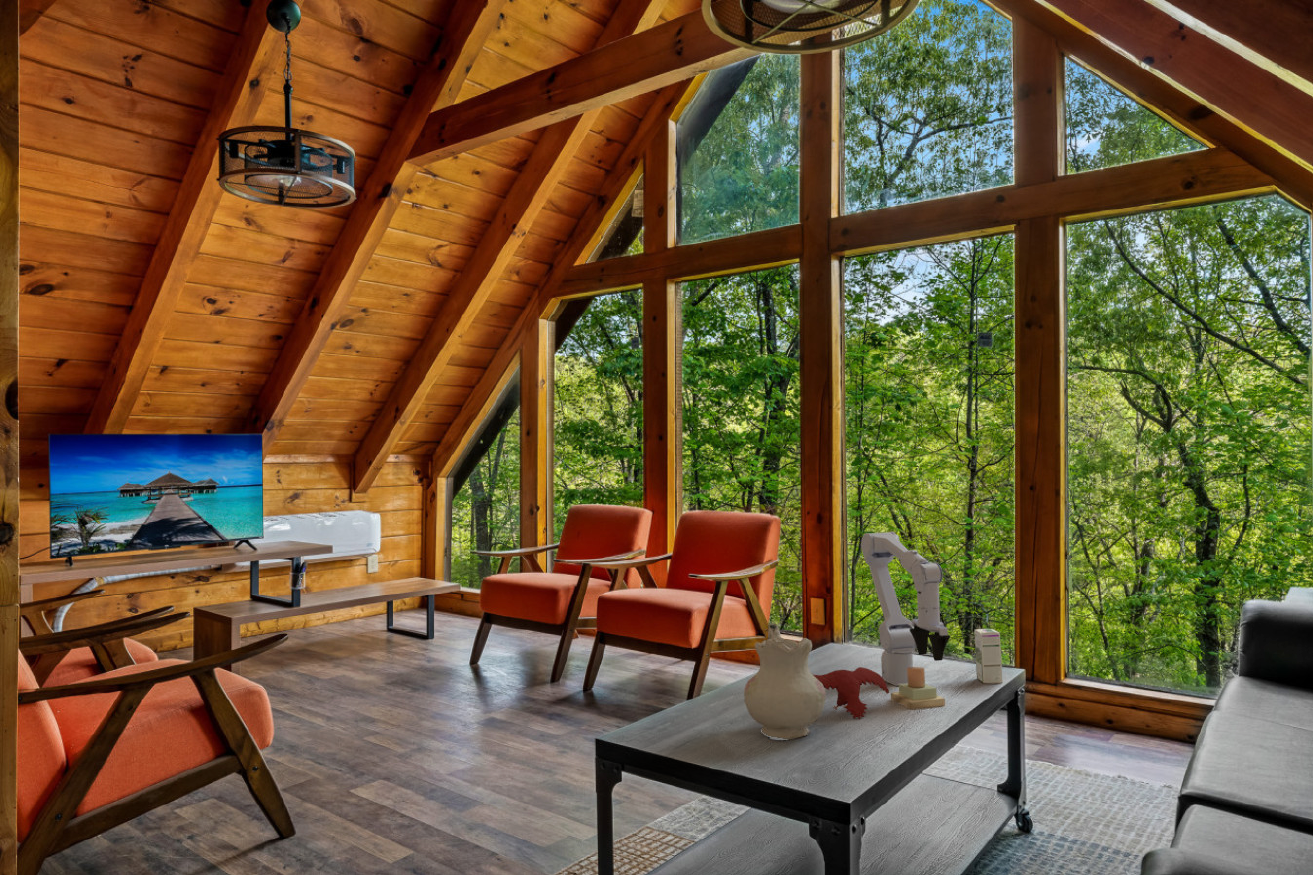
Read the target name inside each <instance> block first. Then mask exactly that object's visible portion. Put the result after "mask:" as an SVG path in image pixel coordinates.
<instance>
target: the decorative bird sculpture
mask: <svg viewBox="0 0 1313 875" xmlns="http://www.w3.org/2000/svg"><path fill="white" fill-rule="evenodd" d="M811 674H812V673H811ZM812 675H813V676H814V677H815V678H817V679H818V680H819V681H820V682H821V683H822V684H823V687H824V689H825V690H828V691H829V690H830V689H831V690H835V689H836V691H837V698H836V699H837V700H836V705H833V706H832V708H833V709H835V711H836V710H837V708H838V707H843V709H845V710H846V713H850V716H853V717H852V719H856V718H858V720H861V718H864V717H865V715H864V714H866V713H867V711H866V710H868V707H867V706H868V704H867V703H863V702H862V701H861V699H860V693H861V686H863V685H864V686H867V683H868V684H869V685H872V684H873V685H874V686H876V687H879V689H882V691H884V692H885V693H886V695H888V694H889V693H890V691H889V687H888V685H887V682H886V681H884V679H883V678H882V675H880V674H879V673H878V672H876V671H874V670H871V669H870V668H867V667H862V666H861V667H860V666H859V667H857V668H856V669H855V670H848V669H836V670H833V671H831V672H828V673H825V674H814V673H813V674H812Z"/></svg>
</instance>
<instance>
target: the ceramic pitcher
mask: <svg viewBox="0 0 1313 875" xmlns="http://www.w3.org/2000/svg"><path fill="white" fill-rule="evenodd" d="M754 648H755V651H756V653H757V655H758V657H759V663H760V664H759V669H758V671H757V672H756V674H754V675H753V676H752V677H751V678H750V679H748V680H747V681H746V683H745V686H744V689H743V690H744V691H743V692H744V693H743V694H744V696H743V697H744V700H743V701H744V703H745V707H746V709H747V712H748V714H750V717H751V718H752V719H753V720H754V721H755V722H756V723H757V724H759V725H761V726H762V728H761V729H762V732H763V733H764V734H766V735H768V736H771V737H777V738H783V739H790V740H793V739H797V738H802V737H807V736H808V735H809V734H810V732H811V731H810V729H809V728H808V727H809V726H811V725H812V724H814V722H816V721H817V720H818V719H819V718H820V716H821V715H822V713H823V710H824V707H825V704H826V703H825V702H826V688H824V687H823V684H822V683H821V682H820V681H819V680H818V679H817V678H815V677H814V676H813V675H814V674H813V675H812V672H811V671H810V669H809V664H808V663H809V657H810V653H811V651H812V648H813V643H812V640H811V639H808V638H806V637H803V638H802V639H801V640H799V641H798V642H797V641H795V640H793V639H792V640H791V639H787V638H783V637H782V635H781V632H780V628H779V625H778V624H776V623H775V622H768V631H767V639H765V640H763V641H762V642H758V641H757V642H755V644H754ZM807 734H808V735H807ZM806 735H807V736H806Z"/></svg>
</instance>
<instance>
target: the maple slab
mask: <svg viewBox="0 0 1313 875" xmlns="http://www.w3.org/2000/svg"><path fill="white" fill-rule="evenodd" d="M890 700H891V701H893V702H896V703H897V704H900V705H901V706H903V707H905V708H907V709H910V710H916V709H926V708H935V707H943V706H946V698H945V697H942V696H940V695H938V694H937V698H930V699H920V700H911V699H909V698H907V697H905V696H903V695H901V694H899V691H893V692H892V691H891V692H890Z"/></svg>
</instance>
